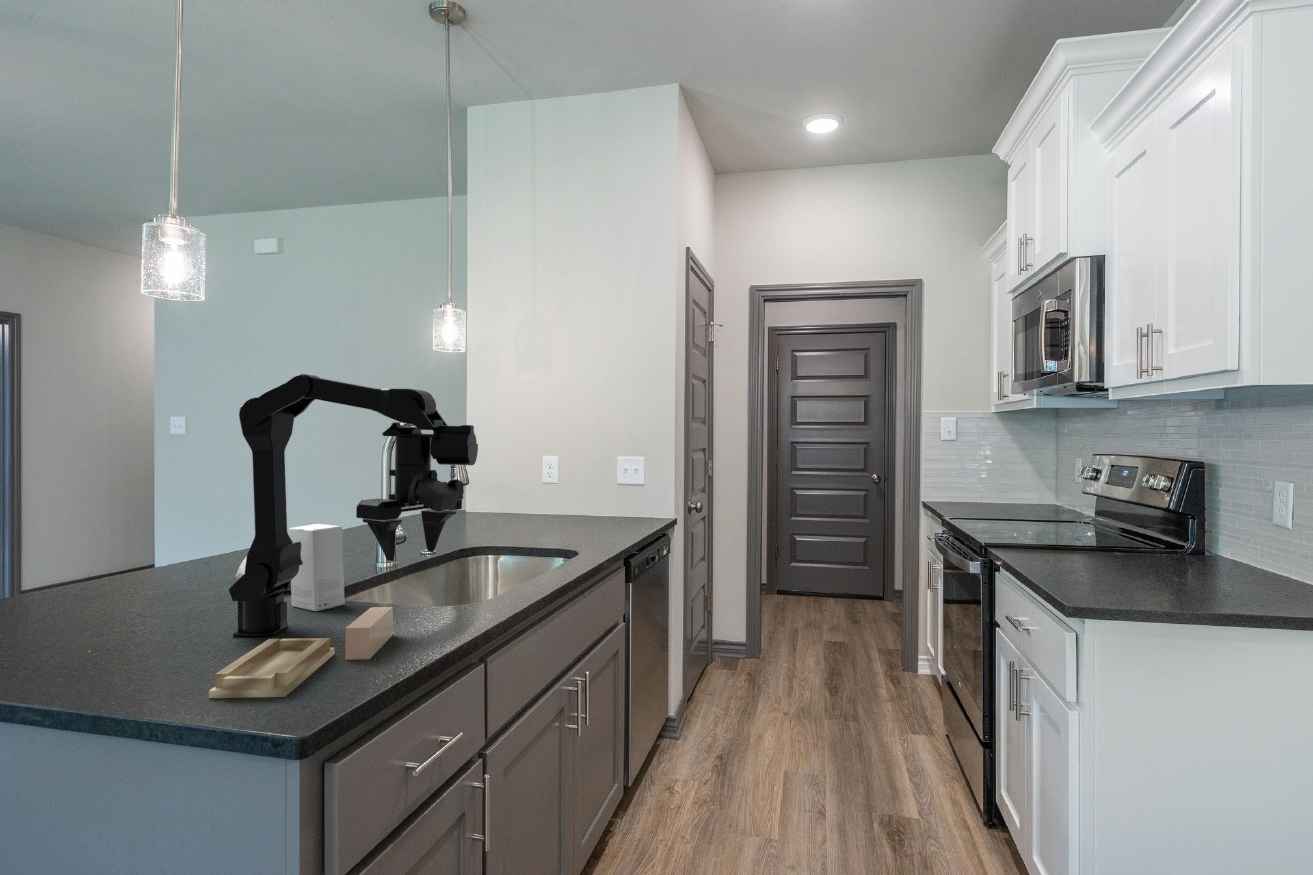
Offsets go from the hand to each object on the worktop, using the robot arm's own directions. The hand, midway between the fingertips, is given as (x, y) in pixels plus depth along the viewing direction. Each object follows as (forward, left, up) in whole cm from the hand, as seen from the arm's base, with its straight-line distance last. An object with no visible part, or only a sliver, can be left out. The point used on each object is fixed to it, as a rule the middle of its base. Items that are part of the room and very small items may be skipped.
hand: (411, 556), depth 119 cm
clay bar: (-5, -6, -14) cm, 16 cm away
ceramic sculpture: (-38, +31, -14) cm, 50 cm away
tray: (-14, -18, -13) cm, 26 cm away
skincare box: (-23, +19, -14) cm, 33 cm away
